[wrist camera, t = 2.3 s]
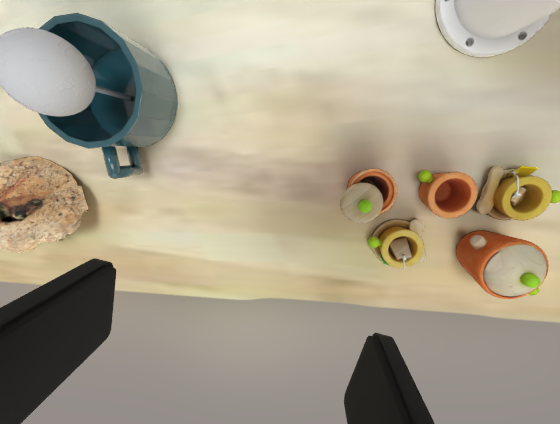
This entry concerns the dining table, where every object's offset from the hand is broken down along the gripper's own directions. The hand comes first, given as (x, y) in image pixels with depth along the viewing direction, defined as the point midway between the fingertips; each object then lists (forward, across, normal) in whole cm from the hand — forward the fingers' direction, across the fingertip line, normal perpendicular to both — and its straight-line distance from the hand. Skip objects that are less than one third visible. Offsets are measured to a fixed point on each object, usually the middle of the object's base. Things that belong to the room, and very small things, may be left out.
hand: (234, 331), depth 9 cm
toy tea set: (+28, -20, -2) cm, 35 cm away
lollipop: (+28, +24, -8) cm, 37 cm away
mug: (+28, +23, -6) cm, 37 cm away
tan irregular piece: (+29, +36, +10) cm, 47 cm away
